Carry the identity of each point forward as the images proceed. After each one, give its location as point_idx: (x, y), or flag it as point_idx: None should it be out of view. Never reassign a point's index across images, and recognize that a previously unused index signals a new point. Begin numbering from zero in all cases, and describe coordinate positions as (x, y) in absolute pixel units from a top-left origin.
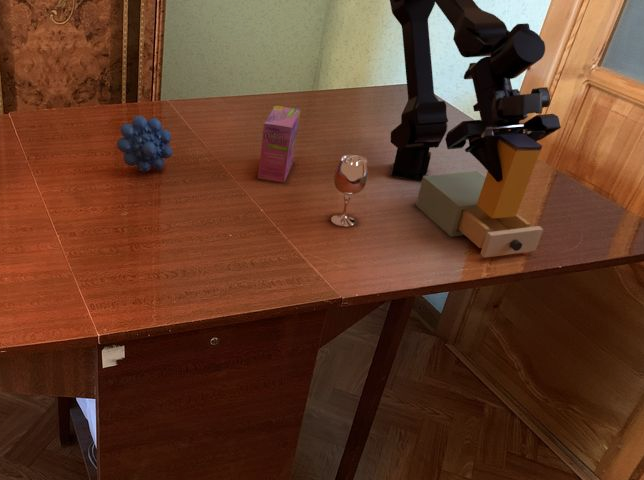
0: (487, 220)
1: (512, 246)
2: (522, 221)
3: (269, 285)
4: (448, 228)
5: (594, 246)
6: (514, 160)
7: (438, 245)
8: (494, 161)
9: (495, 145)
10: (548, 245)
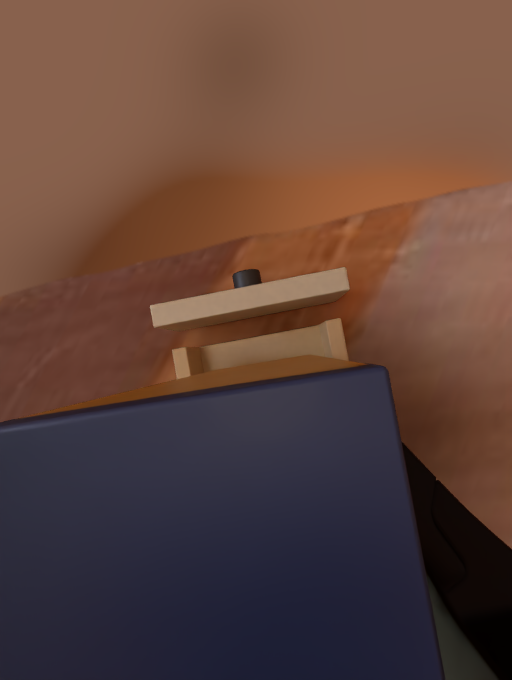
0: None
1: (260, 278)
2: (190, 368)
3: None
4: None
5: (4, 354)
6: (326, 363)
7: (419, 377)
8: (430, 472)
9: (508, 638)
10: (117, 364)
